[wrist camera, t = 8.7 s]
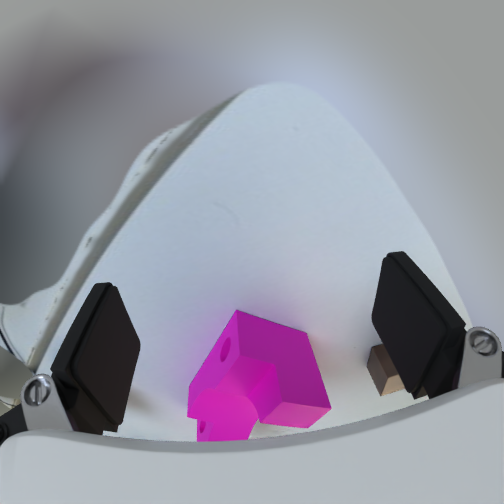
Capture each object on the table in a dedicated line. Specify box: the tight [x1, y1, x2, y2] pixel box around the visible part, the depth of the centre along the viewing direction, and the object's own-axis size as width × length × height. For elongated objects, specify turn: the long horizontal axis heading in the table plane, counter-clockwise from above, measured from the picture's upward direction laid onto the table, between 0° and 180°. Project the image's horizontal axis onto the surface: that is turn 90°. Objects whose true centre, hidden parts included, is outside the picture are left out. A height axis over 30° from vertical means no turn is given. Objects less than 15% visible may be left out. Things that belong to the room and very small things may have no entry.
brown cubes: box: [367, 344, 405, 396], centre depth 23 cm, size 3×31×4 cm, turn 95°
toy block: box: [187, 310, 332, 442], centre depth 21 cm, size 15×6×8 cm, turn 153°
